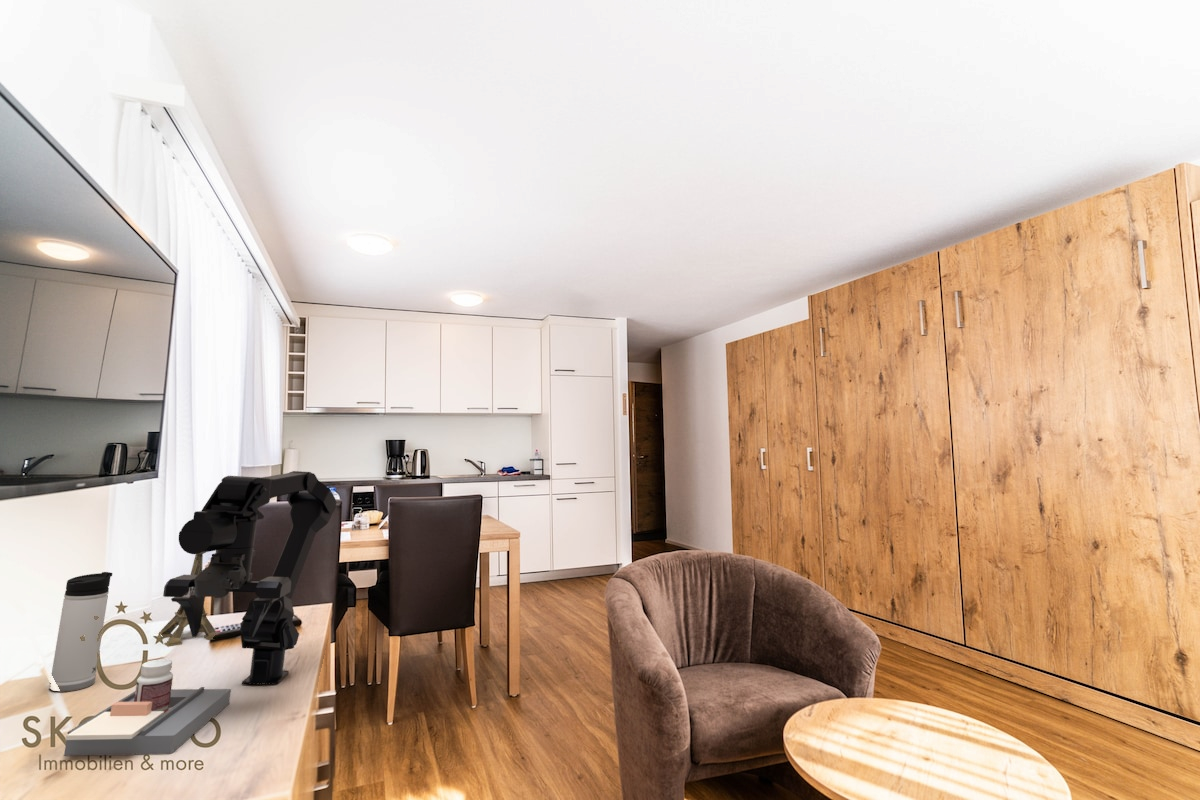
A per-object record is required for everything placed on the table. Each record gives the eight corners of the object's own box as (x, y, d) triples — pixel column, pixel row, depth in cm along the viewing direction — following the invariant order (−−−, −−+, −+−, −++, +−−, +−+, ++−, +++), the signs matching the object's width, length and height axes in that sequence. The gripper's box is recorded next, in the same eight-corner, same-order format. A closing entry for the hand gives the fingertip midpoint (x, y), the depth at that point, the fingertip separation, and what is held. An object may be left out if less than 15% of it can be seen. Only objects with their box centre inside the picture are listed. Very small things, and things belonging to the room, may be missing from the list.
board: (141, 704, 100) (144, 685, 100) (229, 703, 102) (231, 684, 102) (64, 755, 82) (67, 732, 83) (171, 753, 84) (174, 730, 85)
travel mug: (104, 682, 108) (121, 573, 111) (62, 694, 102) (81, 579, 104) (83, 677, 110) (99, 570, 113) (40, 688, 104) (59, 575, 106)
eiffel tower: (167, 647, 130) (183, 534, 133) (154, 636, 136) (169, 529, 139) (220, 638, 138) (234, 532, 141) (205, 628, 144) (219, 527, 147)
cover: (104, 715, 89) (106, 700, 89) (163, 715, 90) (165, 700, 90) (65, 740, 81) (67, 723, 81) (131, 738, 82) (133, 722, 83)
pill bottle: (175, 712, 96) (182, 660, 97) (147, 724, 91) (155, 669, 92) (152, 708, 97) (159, 656, 98) (123, 720, 92) (131, 665, 93)
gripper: (150, 551, 94) (136, 651, 92) (273, 554, 97) (261, 651, 95) (187, 542, 105) (175, 631, 103) (296, 545, 108) (286, 632, 106)
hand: (223, 636), depth 101 cm, fingers open, 9 cm apart
